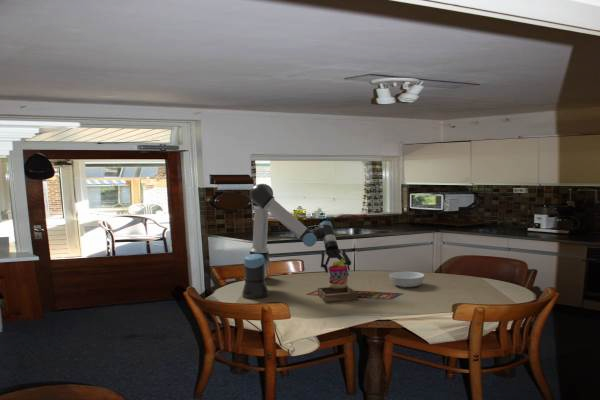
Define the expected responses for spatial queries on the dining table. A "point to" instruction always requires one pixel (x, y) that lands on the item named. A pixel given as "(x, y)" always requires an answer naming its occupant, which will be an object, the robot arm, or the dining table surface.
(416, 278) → the serving bowl
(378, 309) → the dining table surface
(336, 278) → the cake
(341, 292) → the box
